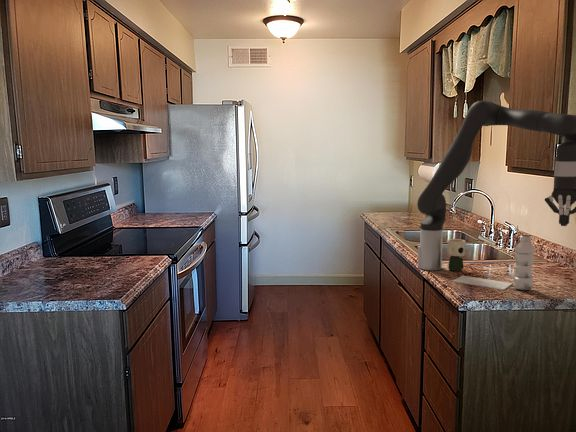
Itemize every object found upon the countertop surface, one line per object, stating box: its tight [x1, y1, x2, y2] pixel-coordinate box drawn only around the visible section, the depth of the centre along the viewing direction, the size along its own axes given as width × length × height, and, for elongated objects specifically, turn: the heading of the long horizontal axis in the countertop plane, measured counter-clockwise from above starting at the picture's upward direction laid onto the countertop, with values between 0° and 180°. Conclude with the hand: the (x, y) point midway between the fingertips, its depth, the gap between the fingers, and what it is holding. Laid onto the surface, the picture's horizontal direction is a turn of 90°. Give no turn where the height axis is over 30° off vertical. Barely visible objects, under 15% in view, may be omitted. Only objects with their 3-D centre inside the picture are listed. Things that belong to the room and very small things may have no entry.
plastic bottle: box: [512, 234, 535, 291], centre depth 172 cm, size 6×7×20 cm
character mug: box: [447, 238, 467, 272], centre depth 202 cm, size 11×7×13 cm, turn 133°
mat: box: [452, 275, 513, 291], centre depth 183 cm, size 19×10×1 cm, turn 49°
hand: (563, 225), depth 163 cm, fingers closed
